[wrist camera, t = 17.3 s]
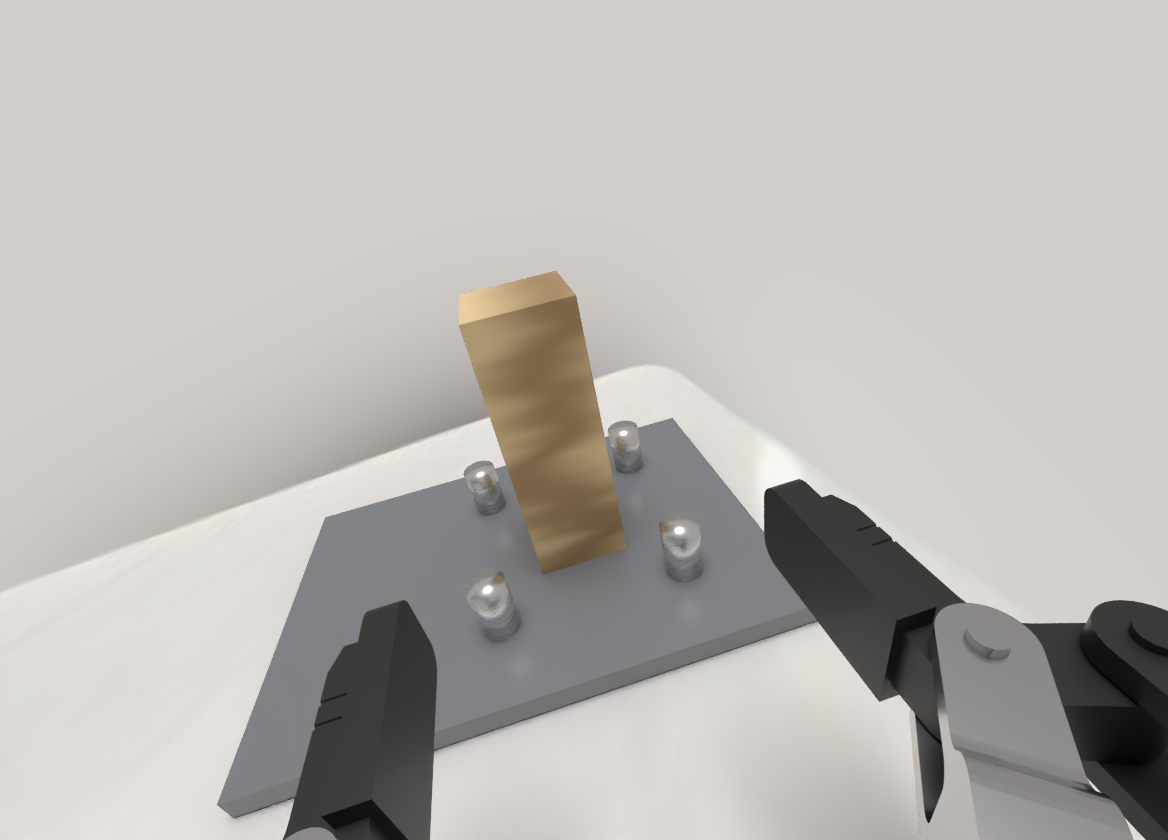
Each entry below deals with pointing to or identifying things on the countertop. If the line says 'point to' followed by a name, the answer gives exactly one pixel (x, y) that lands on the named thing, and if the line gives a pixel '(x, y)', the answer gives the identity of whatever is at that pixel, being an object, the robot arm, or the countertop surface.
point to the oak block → (545, 415)
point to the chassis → (520, 601)
